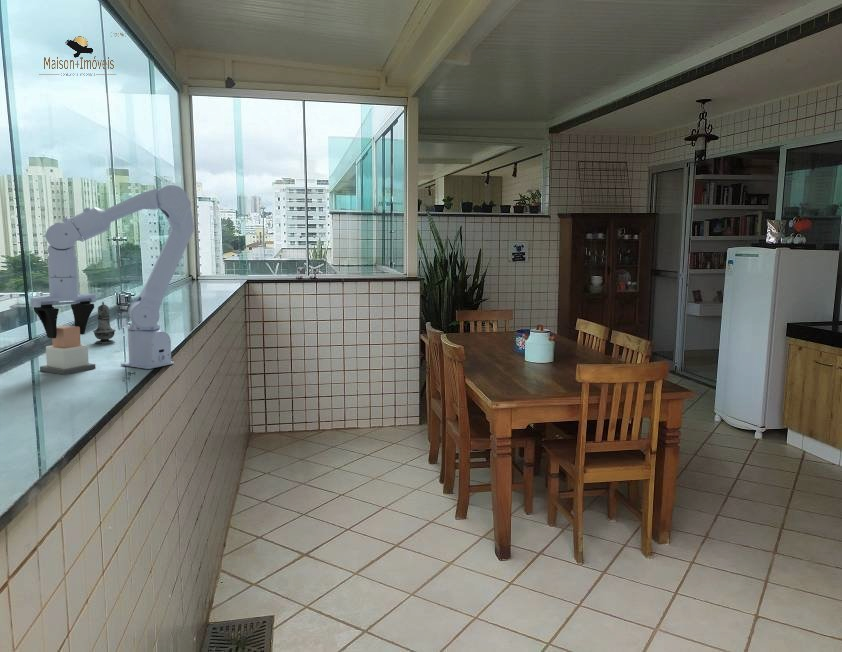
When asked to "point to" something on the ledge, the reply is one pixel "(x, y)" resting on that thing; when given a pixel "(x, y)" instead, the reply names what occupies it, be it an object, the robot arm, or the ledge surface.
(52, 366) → the tower base
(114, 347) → the ledge surface
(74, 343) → the terracotta brick
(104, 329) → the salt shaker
